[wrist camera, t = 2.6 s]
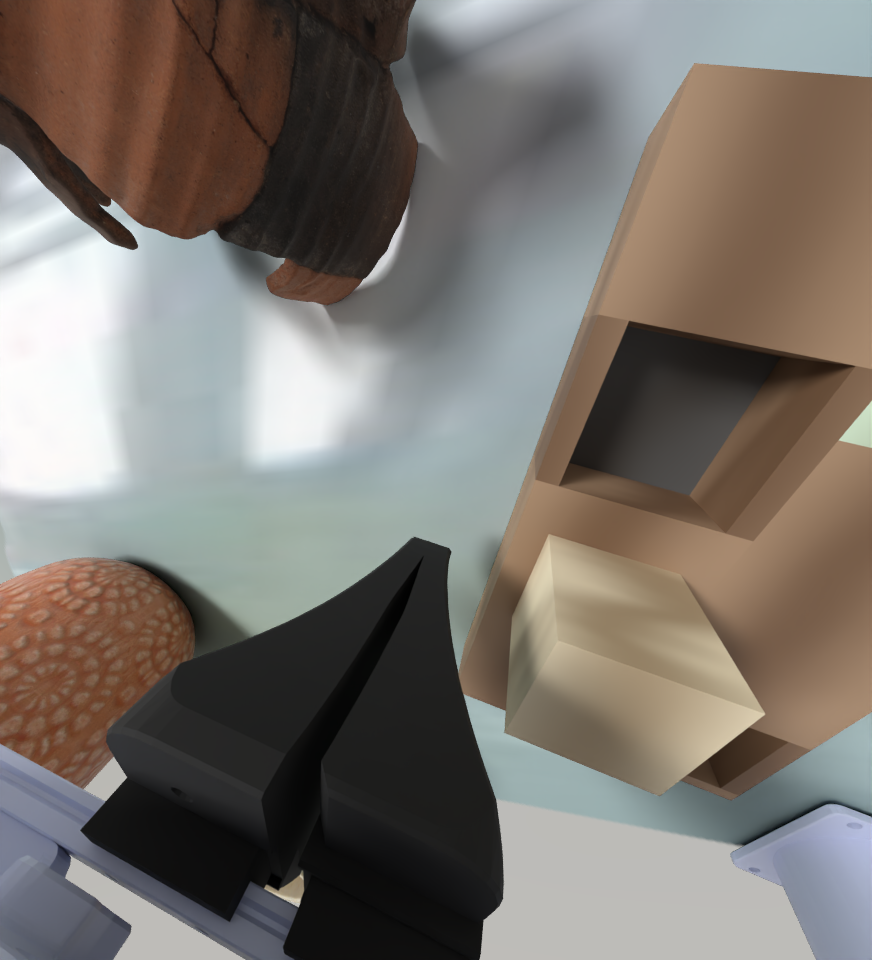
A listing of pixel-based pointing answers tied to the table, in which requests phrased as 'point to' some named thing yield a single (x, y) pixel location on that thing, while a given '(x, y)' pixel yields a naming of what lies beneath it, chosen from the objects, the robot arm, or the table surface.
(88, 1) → the pottery mug
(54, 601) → the planter
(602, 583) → the birch block
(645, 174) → the board
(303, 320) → the table surface
